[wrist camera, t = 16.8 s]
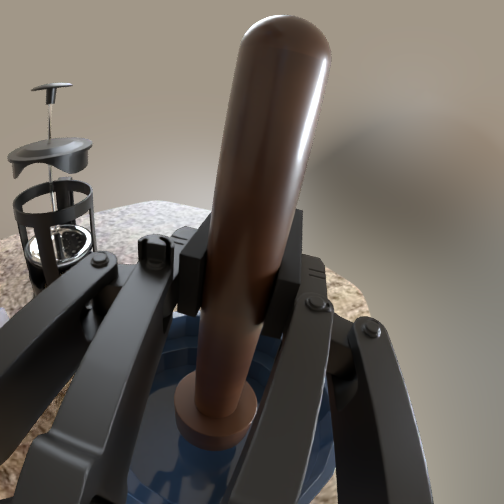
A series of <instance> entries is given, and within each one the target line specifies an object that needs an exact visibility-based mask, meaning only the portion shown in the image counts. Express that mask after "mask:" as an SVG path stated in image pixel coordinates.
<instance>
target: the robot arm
mask: <svg viewBox="0 0 504 504" xmlns="http://www.w3.org/2000/svg"><path fill="white" fill-rule="evenodd" d="M211 213H212V212H211ZM211 213H210V214H209V215H208V217H207V218H206V219H205V221H204V222H203V223H202V224H201V226H200V227H199V228H198V229H195V228H191V227H187V226H184V227H182V228H180V229H177V230H176V231H175V232H174V233H173V234H172V236H171V237H170V238H169V237H168V236H164V235H158V234H152V235H147V236H144V237H142V238H140V239H139V240H138V260H139V261H138V262H137V264H136V265H129V264H118V262H117V257H116V256H115V255H114V254H113V253H111V252H107V251H97V252H93V253H91V254H89V255H87V256H86V257H85V258H83V259H82V260H81V261H79V262H78V263H77V264H76V265H74V266H73V267H72V268H70V269H69V270H68V271H66V272H65V273H64V274H63V275H61V276H60V277H59V278H58V279H56V280H55V281H54V282H53V283H51V284H50V285H49V286H48V287H47V288H45V289H44V290H43V291H42V292H40V293H39V294H38V295H37V296H36V297H35V298H33V299H32V300H31V301H30V302H29V303H28V304H26V305H25V306H24V307H23V308H22V309H21V310H20V311H18V312H17V313H16V314H15V315H14V316H13V317H12V318H11V319H10V320H9V321H7V322H6V323H5V324H4V325H3V326H2V327H1V328H0V465H1V464H3V463H4V462H5V461H6V460H7V459H8V458H9V457H10V456H11V454H12V453H13V452H14V451H15V449H16V448H17V447H18V445H19V444H20V443H21V441H22V440H23V439H24V437H25V436H26V435H27V433H28V432H29V431H30V429H31V428H32V427H33V425H34V424H35V423H36V421H37V420H38V419H39V417H40V416H41V415H42V413H43V412H44V411H45V410H46V408H47V407H48V406H49V405H50V403H51V402H52V401H53V399H54V398H55V397H56V396H57V394H58V393H59V392H60V391H61V389H62V388H63V387H64V386H65V385H66V383H67V382H68V381H69V380H70V378H71V377H72V376H73V375H74V374H75V375H74V377H73V379H72V382H71V384H70V386H69V388H68V390H67V392H66V395H65V397H64V399H63V401H62V404H61V406H60V408H59V411H58V413H57V415H56V418H55V420H54V422H53V425H52V427H51V429H50V430H49V431H48V432H47V433H44V434H40V435H38V436H37V437H36V438H35V439H34V440H33V442H32V444H31V445H30V447H29V450H28V453H27V455H26V458H25V461H24V464H23V467H22V470H21V473H20V476H19V479H18V482H17V486H16V489H15V492H14V496H13V497H10V498H6V499H2V500H0V504H126V500H127V492H128V487H127V477H128V472H129V468H130V464H131V460H132V456H133V452H134V448H135V444H136V440H137V436H138V432H139V429H140V425H141V421H142V418H143V414H144V411H145V407H146V404H147V400H148V397H149V393H150V390H151V387H152V383H153V380H154V377H155V373H156V370H157V367H158V364H159V360H160V357H161V354H162V351H163V348H164V345H165V342H166V339H167V336H168V333H169V330H170V327H171V324H172V321H173V310H174V308H175V306H176V304H177V312H178V313H181V314H184V315H188V316H191V317H194V318H196V316H197V314H198V311H199V309H200V307H201V300H202V290H203V280H204V271H205V262H206V253H207V245H208V236H209V228H210V220H211ZM302 215H303V211H302V210H299V209H296V210H295V214H294V217H293V221H292V225H291V229H290V232H289V236H288V239H287V243H286V247H285V250H284V254H283V257H282V261H281V264H280V268H279V271H278V275H277V278H276V282H275V285H274V288H273V292H272V295H271V299H270V302H269V306H268V309H267V312H266V316H265V319H264V322H263V327H262V332H261V335H263V336H267V337H272V338H276V339H281V336H282V334H283V337H282V341H281V344H280V346H279V349H278V351H277V354H276V356H275V359H274V364H273V367H272V370H271V373H270V376H269V379H268V382H267V384H266V387H265V390H264V393H263V396H262V399H261V402H260V404H259V407H258V410H257V413H256V415H255V418H254V421H253V424H252V426H251V429H250V432H249V434H248V437H247V439H246V442H245V445H244V447H243V450H242V452H241V455H240V457H239V460H238V462H237V465H236V467H235V470H234V472H233V475H232V477H231V480H230V482H229V484H228V487H227V489H226V491H225V494H224V496H223V498H222V501H221V503H220V504H298V500H299V497H300V493H301V490H302V486H303V482H304V479H305V475H306V471H307V467H308V463H309V458H310V454H311V450H312V445H313V441H314V436H315V431H316V427H317V422H318V417H319V411H320V406H321V400H322V395H323V389H324V383H325V377H326V379H327V387H328V395H329V403H330V412H331V421H332V431H333V441H334V452H335V464H336V478H337V493H338V504H434V503H433V497H432V490H431V485H430V480H429V475H428V469H427V464H426V460H425V455H424V451H423V446H422V442H421V438H420V434H419V430H418V426H417V423H416V419H415V415H414V412H413V408H412V404H411V401H410V398H409V395H408V391H407V388H406V385H405V381H404V378H403V375H402V372H401V370H400V366H399V363H398V360H397V357H396V354H395V352H394V349H393V346H392V343H391V340H390V338H389V335H388V332H387V330H386V329H385V327H384V326H383V325H382V324H381V323H380V322H379V321H377V320H376V319H374V318H371V317H367V316H364V317H359V318H357V319H356V320H355V322H354V323H353V322H350V321H348V320H346V319H344V318H342V317H340V316H338V315H337V314H336V313H335V312H334V307H333V304H332V303H331V302H330V300H328V298H327V286H326V274H325V265H324V264H323V262H322V261H321V259H320V258H317V257H313V256H309V255H305V254H302V220H303V218H302V217H303V216H302ZM89 301H91V304H90V305H89V306H87V307H86V306H85V305H86V304H87V303H88V302H89ZM75 372H76V373H75Z"/></svg>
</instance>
